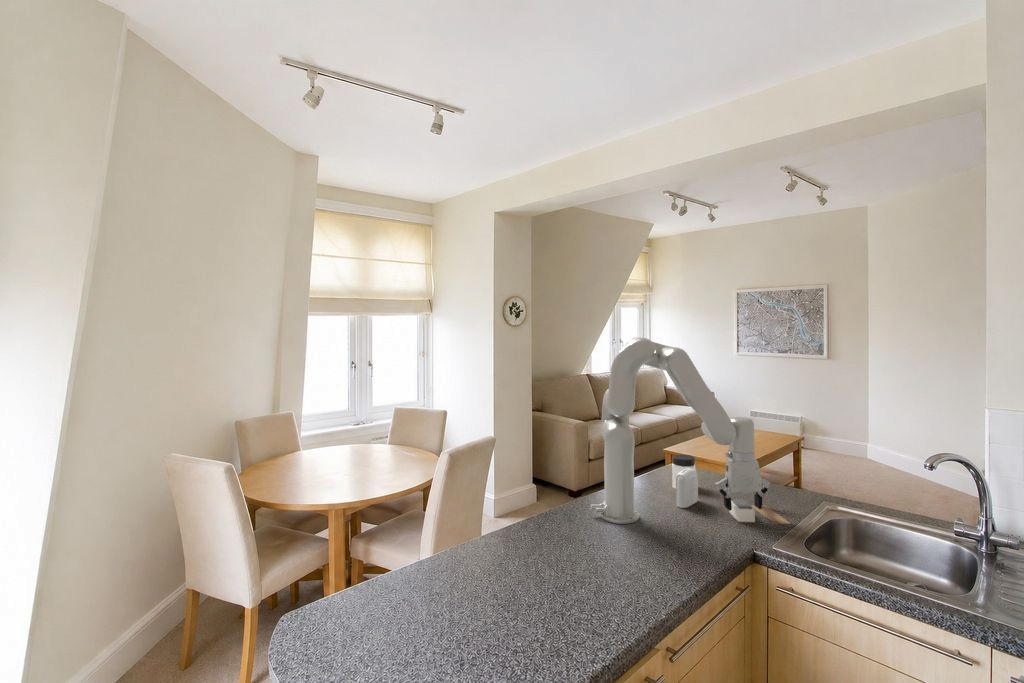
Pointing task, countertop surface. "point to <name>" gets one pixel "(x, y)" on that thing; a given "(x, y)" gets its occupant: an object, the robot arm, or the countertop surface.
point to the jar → (681, 465)
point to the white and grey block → (742, 511)
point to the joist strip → (771, 515)
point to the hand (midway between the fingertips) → (743, 508)
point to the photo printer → (686, 488)
